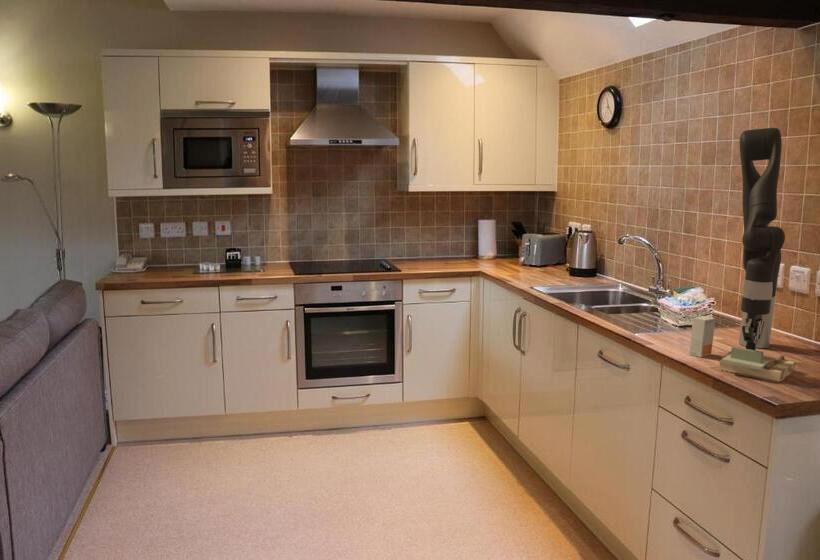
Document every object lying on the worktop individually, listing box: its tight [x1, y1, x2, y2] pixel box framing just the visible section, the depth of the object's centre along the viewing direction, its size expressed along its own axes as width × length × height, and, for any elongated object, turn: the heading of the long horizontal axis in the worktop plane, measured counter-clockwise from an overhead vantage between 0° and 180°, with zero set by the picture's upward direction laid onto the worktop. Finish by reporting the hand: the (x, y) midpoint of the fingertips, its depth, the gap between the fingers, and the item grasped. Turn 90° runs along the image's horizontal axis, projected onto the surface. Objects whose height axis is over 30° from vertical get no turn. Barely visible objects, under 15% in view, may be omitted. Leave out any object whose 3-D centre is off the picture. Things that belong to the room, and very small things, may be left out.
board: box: [718, 350, 796, 384], centre depth 202 cm, size 16×16×4 cm
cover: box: [721, 346, 771, 370], centre depth 198 cm, size 9×11×4 cm
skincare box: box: [688, 315, 716, 358], centre depth 217 cm, size 6×4×12 cm
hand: (750, 354), depth 200 cm, fingers closed
